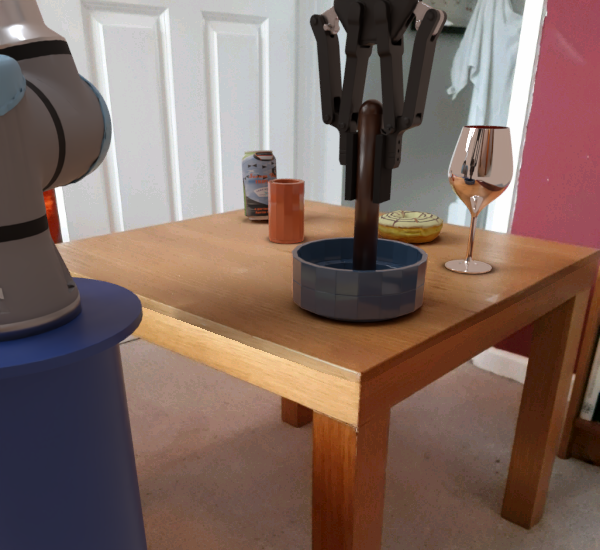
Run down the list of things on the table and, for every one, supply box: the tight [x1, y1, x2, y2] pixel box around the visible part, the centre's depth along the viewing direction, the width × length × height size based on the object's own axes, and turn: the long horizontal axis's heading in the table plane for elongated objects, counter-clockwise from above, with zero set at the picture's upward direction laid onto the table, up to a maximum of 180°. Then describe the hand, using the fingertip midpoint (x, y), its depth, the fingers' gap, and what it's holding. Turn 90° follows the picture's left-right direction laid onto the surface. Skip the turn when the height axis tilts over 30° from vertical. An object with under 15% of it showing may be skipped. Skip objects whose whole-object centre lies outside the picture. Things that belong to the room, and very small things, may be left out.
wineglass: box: [444, 124, 514, 275], centre depth 84 cm, size 8×8×18 cm
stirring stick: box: [352, 98, 384, 270], centre depth 67 cm, size 3×3×19 cm
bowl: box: [291, 236, 429, 323], centre depth 73 cm, size 15×15×6 cm
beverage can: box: [241, 149, 278, 221], centre depth 112 cm, size 6×7×12 cm
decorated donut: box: [378, 209, 444, 244], centre depth 103 cm, size 10×11×4 cm
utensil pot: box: [268, 177, 306, 245], centre depth 100 cm, size 6×6×9 cm
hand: (367, 199), depth 67 cm, fingers closed on stirring stick, 3 cm apart
